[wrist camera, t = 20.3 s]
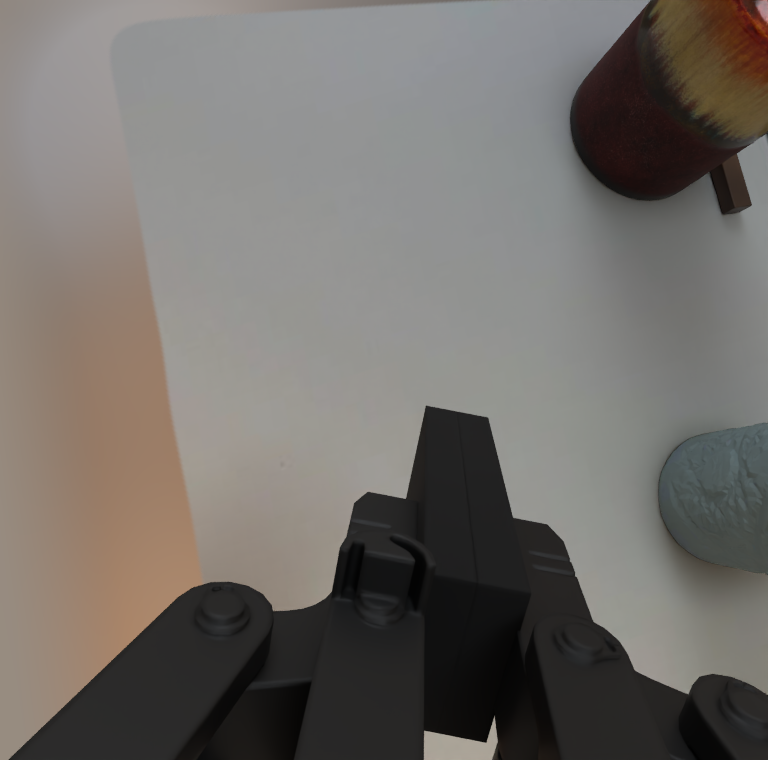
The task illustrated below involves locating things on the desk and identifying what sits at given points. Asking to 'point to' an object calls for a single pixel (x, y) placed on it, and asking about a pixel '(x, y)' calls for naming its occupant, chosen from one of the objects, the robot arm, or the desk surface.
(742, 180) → the strip
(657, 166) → the vase
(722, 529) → the grey-blue ceramic planter
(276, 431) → the desk surface
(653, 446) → the desk surface
